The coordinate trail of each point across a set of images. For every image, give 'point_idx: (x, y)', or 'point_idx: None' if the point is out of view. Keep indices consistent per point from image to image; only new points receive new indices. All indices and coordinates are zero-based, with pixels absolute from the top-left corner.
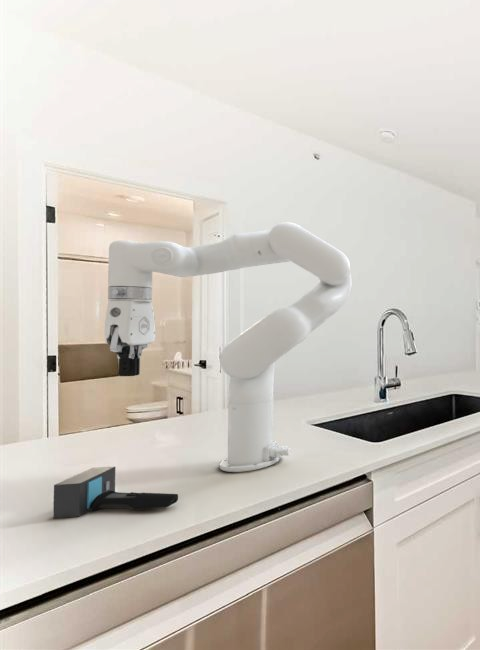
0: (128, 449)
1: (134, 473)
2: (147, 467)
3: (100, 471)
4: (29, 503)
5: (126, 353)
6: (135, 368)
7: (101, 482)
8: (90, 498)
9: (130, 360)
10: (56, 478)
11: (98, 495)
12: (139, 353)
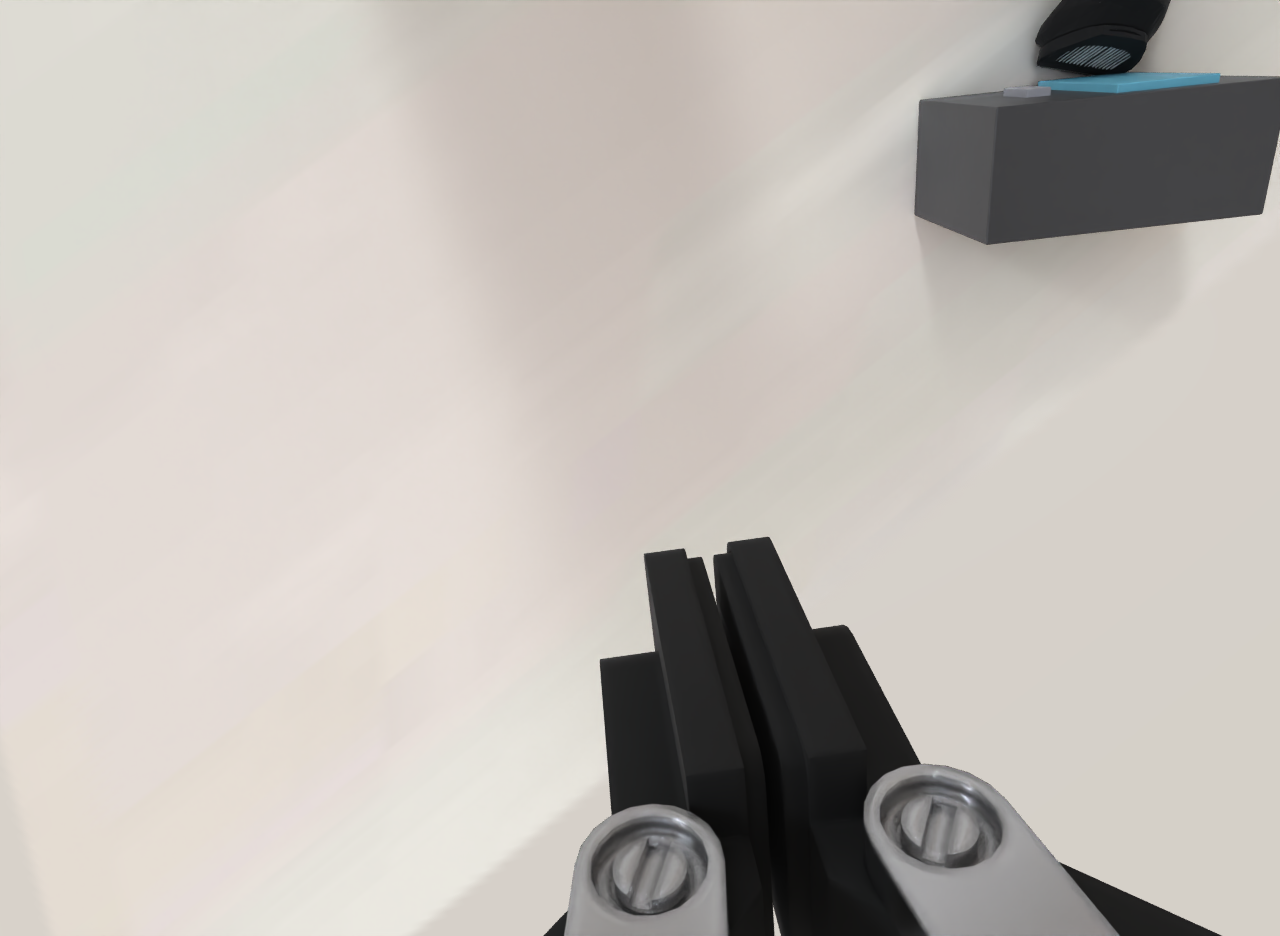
0: (107, 649)
1: (549, 275)
2: (441, 276)
3: (1085, 127)
4: (919, 453)
5: (1129, 914)
6: (788, 600)
7: (1099, 84)
8: (1145, 73)
9: (880, 775)
10: (601, 611)
11: (1144, 41)
12: (628, 920)
